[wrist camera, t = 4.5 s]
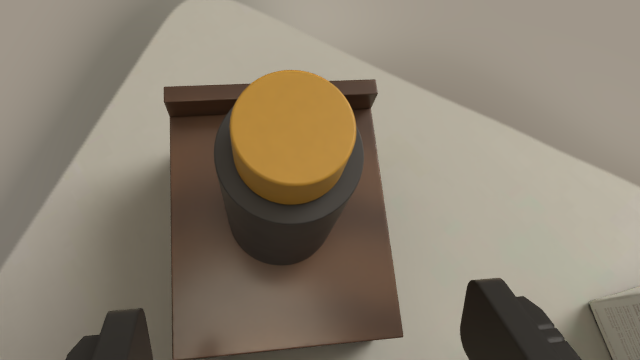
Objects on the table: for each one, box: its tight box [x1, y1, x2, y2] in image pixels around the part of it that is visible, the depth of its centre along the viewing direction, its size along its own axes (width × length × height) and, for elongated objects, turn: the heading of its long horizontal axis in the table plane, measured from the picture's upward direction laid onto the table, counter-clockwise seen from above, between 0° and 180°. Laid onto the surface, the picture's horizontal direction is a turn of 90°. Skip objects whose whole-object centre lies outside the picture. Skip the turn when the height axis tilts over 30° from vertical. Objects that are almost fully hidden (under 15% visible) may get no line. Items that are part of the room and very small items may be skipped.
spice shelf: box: [164, 80, 403, 360], centre depth 26 cm, size 12×10×8 cm
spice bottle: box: [214, 70, 364, 265], centre depth 19 cm, size 5×5×10 cm
